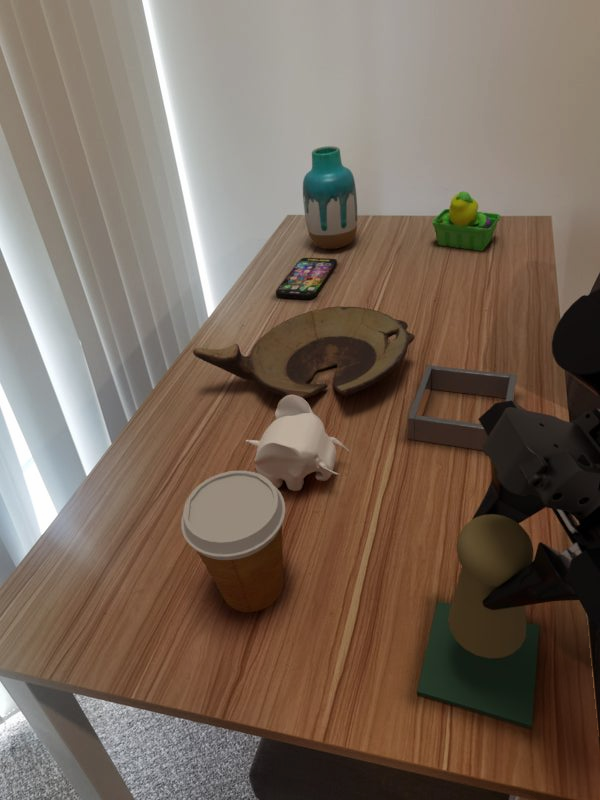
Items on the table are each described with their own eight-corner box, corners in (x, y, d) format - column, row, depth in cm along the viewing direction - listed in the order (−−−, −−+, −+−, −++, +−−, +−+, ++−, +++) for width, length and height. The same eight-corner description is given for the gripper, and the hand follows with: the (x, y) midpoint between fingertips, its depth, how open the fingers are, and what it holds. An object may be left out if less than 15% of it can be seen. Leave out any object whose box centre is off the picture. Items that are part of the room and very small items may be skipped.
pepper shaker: (543, 635, 47) (562, 545, 40) (481, 672, 45) (490, 584, 39) (491, 579, 51) (501, 489, 45) (433, 611, 50) (434, 523, 43)
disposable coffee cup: (236, 536, 66) (214, 457, 59) (314, 562, 62) (301, 480, 55) (188, 608, 59) (156, 529, 52) (271, 641, 56) (250, 561, 48)
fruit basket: (499, 238, 118) (504, 181, 111) (484, 257, 113) (489, 197, 106) (444, 232, 124) (446, 177, 117) (427, 249, 118) (428, 192, 111)
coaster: (538, 629, 53) (539, 625, 53) (531, 729, 47) (532, 725, 47) (437, 604, 57) (437, 600, 56) (416, 694, 50) (416, 691, 50)
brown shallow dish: (406, 424, 78) (405, 376, 73) (192, 412, 85) (179, 368, 80) (419, 333, 94) (419, 289, 90) (239, 329, 102) (231, 289, 97)
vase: (298, 251, 125) (286, 156, 113) (326, 232, 131) (318, 140, 119) (341, 259, 119) (333, 160, 108) (368, 239, 126) (364, 143, 114)
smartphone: (273, 292, 109) (301, 257, 120) (273, 297, 109) (301, 261, 120) (313, 295, 106) (338, 258, 117) (314, 300, 107) (339, 263, 118)
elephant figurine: (340, 508, 67) (334, 450, 62) (240, 498, 71) (226, 442, 65) (354, 451, 75) (350, 394, 69) (263, 444, 78) (252, 389, 72)
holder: (514, 395, 80) (516, 374, 77) (504, 454, 71) (507, 431, 69) (426, 385, 84) (426, 364, 81) (408, 439, 75) (407, 417, 73)
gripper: (514, 305, 42) (368, 448, 48) (678, 500, 27) (434, 669, 33) (605, 377, 47) (461, 499, 53) (787, 577, 32) (555, 711, 38)
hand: (474, 575), depth 44 cm, fingers closed on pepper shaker, 5 cm apart
